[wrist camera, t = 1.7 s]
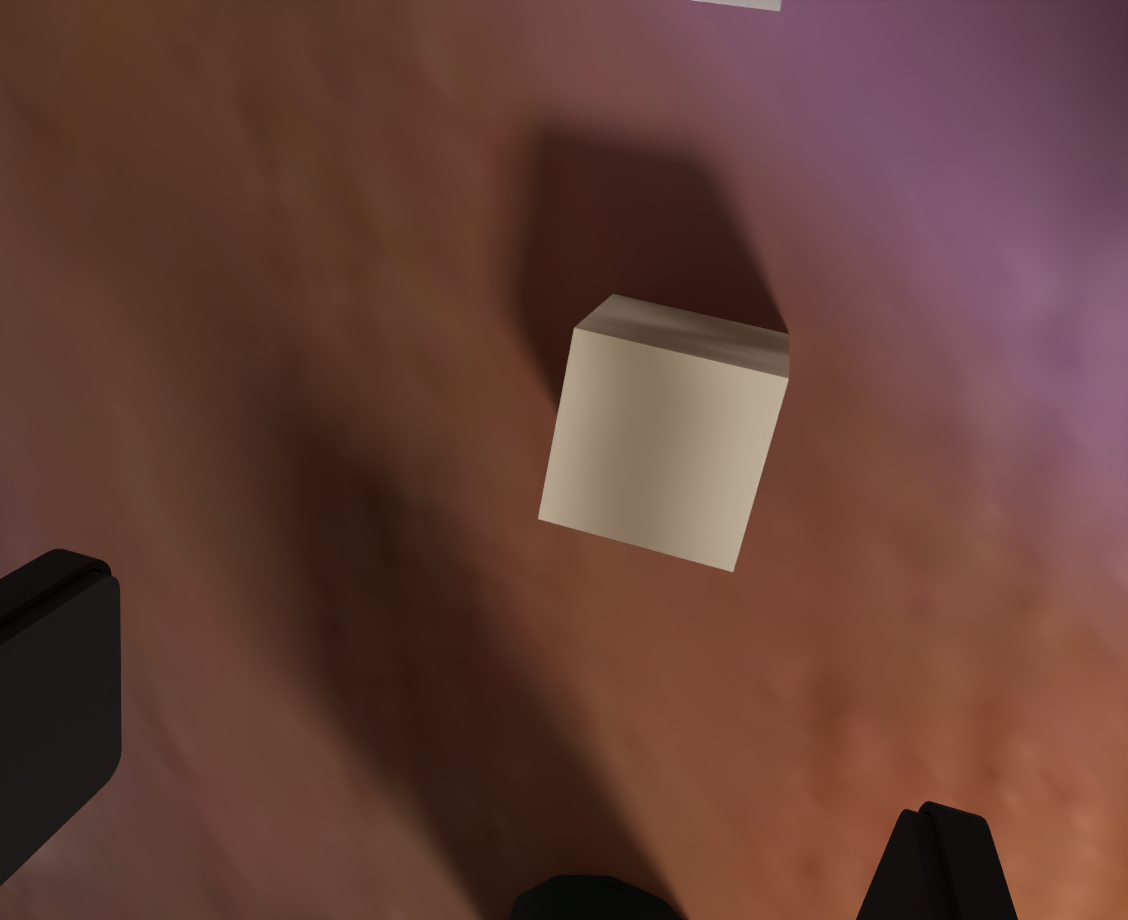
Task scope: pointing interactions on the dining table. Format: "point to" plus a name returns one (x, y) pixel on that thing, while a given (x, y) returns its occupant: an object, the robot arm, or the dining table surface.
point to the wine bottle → (589, 901)
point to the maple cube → (664, 428)
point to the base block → (750, 3)
